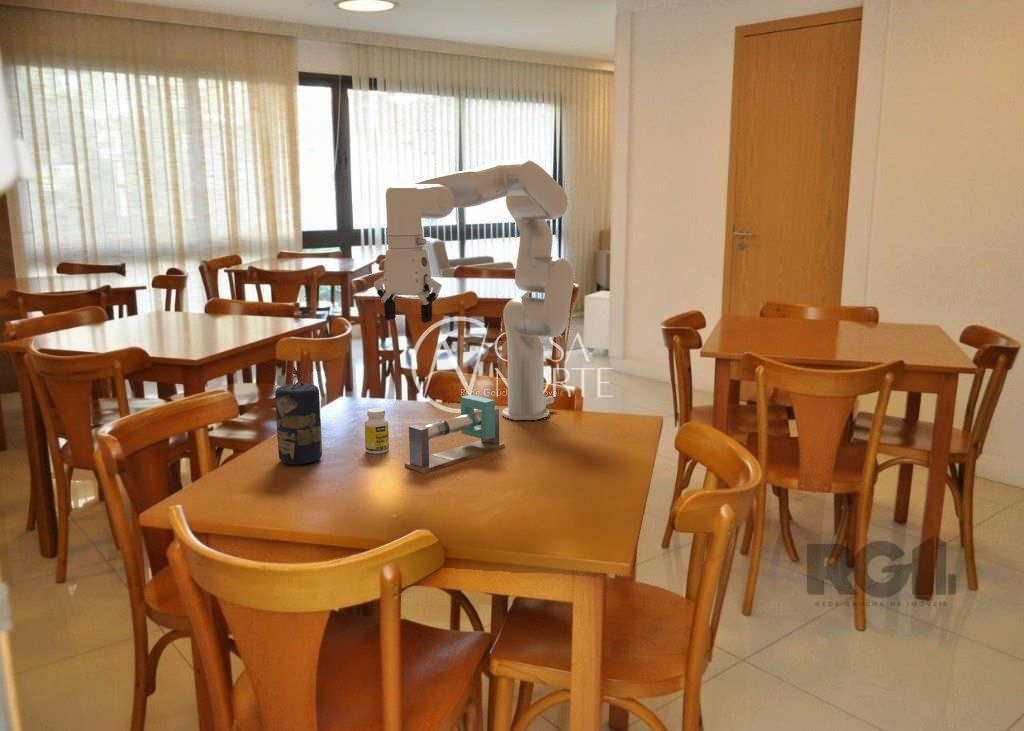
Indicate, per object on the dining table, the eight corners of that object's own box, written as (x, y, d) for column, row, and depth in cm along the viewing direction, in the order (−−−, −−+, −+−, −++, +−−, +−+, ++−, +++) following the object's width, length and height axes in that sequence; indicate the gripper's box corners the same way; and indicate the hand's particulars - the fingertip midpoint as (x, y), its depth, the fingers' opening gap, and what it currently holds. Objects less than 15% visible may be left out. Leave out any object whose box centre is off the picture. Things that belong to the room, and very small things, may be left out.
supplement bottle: (377, 455, 192) (375, 414, 190) (360, 451, 196) (358, 410, 194) (394, 450, 197) (392, 409, 195) (377, 446, 200) (376, 405, 198)
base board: (485, 441, 202) (485, 438, 202) (504, 447, 198) (504, 443, 198) (404, 466, 184) (404, 462, 184) (424, 473, 180) (424, 469, 180)
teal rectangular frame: (470, 430, 199) (469, 394, 198) (495, 437, 194) (494, 400, 192) (461, 433, 197) (460, 397, 195) (485, 439, 192) (485, 402, 190)
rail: (487, 443, 201) (486, 405, 199) (499, 446, 199) (499, 408, 197) (410, 467, 184) (408, 426, 182) (422, 471, 181) (421, 430, 179)
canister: (269, 463, 187) (264, 384, 184) (299, 452, 196) (294, 375, 192) (303, 469, 183) (298, 388, 179) (331, 457, 191) (327, 379, 188)
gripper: (447, 242, 185) (450, 320, 189) (382, 241, 193) (386, 315, 197) (429, 245, 179) (432, 325, 182) (362, 243, 186) (366, 320, 190)
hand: (408, 320), depth 189 cm, fingers open, 9 cm apart
